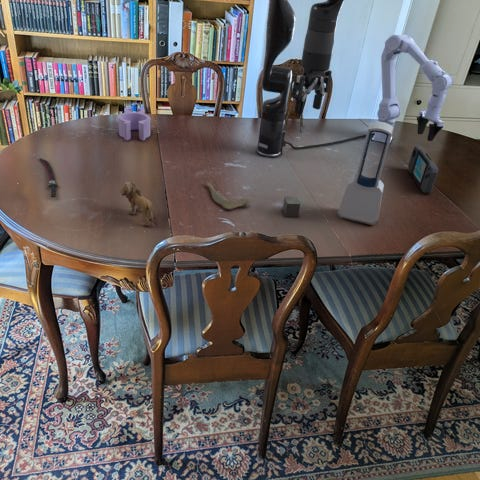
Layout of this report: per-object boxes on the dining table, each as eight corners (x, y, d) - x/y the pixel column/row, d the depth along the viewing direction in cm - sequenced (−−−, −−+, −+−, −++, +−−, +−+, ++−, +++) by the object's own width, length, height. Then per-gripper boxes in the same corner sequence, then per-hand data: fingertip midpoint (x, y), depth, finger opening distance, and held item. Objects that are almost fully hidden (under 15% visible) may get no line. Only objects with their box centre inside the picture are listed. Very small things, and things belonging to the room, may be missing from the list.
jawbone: (235, 216, 142) (236, 211, 141) (188, 193, 152) (187, 188, 151) (254, 205, 147) (254, 199, 146) (207, 183, 158) (207, 178, 157)
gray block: (295, 210, 148) (297, 196, 146) (298, 217, 145) (300, 203, 142) (282, 209, 148) (284, 196, 145) (285, 216, 144) (287, 203, 141)
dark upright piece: (301, 132, 210) (312, 62, 194) (282, 129, 211) (292, 60, 195) (302, 125, 218) (314, 58, 201) (285, 123, 219) (294, 56, 202)
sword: (61, 197, 141) (61, 193, 140) (50, 198, 139) (50, 194, 139) (49, 160, 164) (48, 156, 163) (39, 160, 163) (39, 157, 162)
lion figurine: (118, 210, 138) (116, 182, 133) (132, 204, 141) (131, 177, 137) (151, 229, 130) (150, 201, 126) (165, 223, 134) (165, 195, 129)
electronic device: (378, 217, 149) (404, 126, 133) (375, 228, 143) (403, 134, 127) (339, 207, 152) (360, 117, 136) (335, 218, 146) (357, 125, 130)
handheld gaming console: (406, 168, 186) (413, 144, 180) (412, 169, 186) (420, 145, 180) (423, 194, 166) (432, 168, 161) (430, 195, 166) (439, 169, 161)
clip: (120, 122, 199) (119, 106, 195) (149, 123, 202) (149, 107, 198) (118, 140, 183) (117, 123, 179) (151, 140, 185) (150, 123, 181)
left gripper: (321, 44, 126) (311, 103, 135) (289, 48, 117) (280, 112, 126) (345, 49, 122) (332, 110, 131) (314, 54, 113) (303, 120, 122)
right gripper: (416, 99, 195) (407, 131, 202) (436, 110, 183) (426, 143, 191) (431, 100, 197) (421, 131, 204) (452, 111, 185) (440, 143, 192)
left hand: (307, 111), depth 128 cm, fingers open, 8 cm apart
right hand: (424, 137), depth 197 cm, fingers open, 7 cm apart
